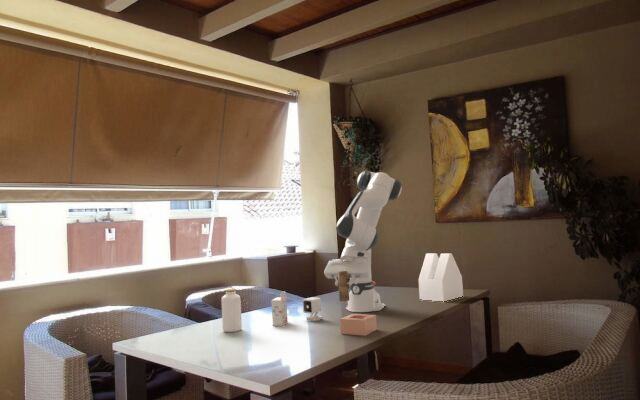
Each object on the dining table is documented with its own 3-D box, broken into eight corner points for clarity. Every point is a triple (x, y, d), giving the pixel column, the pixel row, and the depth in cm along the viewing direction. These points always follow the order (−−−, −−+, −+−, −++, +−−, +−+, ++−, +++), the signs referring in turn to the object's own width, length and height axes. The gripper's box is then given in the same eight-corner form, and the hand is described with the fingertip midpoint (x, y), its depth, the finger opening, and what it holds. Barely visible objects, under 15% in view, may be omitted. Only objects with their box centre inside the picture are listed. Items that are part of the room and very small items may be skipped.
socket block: (353, 327, 209) (352, 313, 209) (376, 329, 203) (376, 315, 203) (340, 333, 199) (340, 318, 199) (365, 335, 194) (364, 320, 194)
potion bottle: (234, 327, 222) (233, 287, 223) (245, 329, 216) (243, 289, 217) (219, 331, 216) (217, 290, 217) (229, 333, 211) (227, 291, 211)
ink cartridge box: (277, 322, 230) (276, 290, 231) (287, 322, 229) (286, 290, 230) (272, 326, 221) (270, 293, 222) (282, 326, 220) (281, 293, 221)
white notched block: (443, 302, 258) (440, 255, 260) (419, 300, 270) (416, 254, 271) (463, 297, 271) (460, 252, 273) (439, 295, 283) (436, 252, 284)
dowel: (342, 299, 205) (340, 270, 205) (351, 299, 203) (348, 270, 203) (337, 301, 202) (335, 271, 202) (346, 301, 199) (344, 271, 200)
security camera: (303, 320, 231) (302, 299, 231) (313, 317, 236) (312, 296, 236) (313, 321, 226) (312, 300, 227) (323, 319, 232) (322, 297, 232)
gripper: (326, 255, 214) (317, 280, 205) (370, 253, 205) (362, 280, 195) (331, 264, 218) (323, 289, 209) (374, 263, 208) (368, 289, 199)
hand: (342, 285), depth 202 cm, fingers closed on dowel, 4 cm apart
